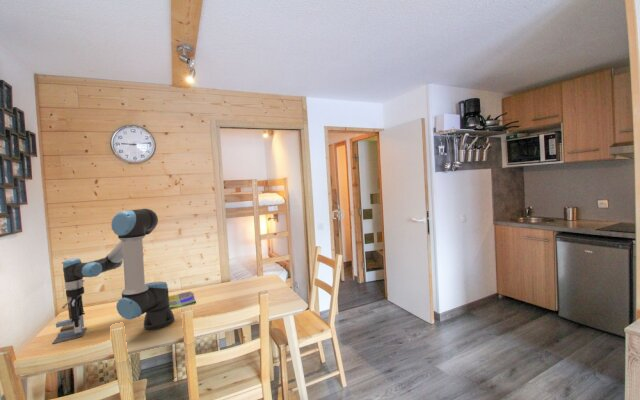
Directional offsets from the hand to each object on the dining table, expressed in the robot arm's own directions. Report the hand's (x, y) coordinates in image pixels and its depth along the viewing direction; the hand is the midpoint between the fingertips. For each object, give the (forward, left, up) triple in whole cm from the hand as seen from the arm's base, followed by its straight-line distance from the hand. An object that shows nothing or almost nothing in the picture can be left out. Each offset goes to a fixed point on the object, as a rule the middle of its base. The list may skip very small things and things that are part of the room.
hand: (79, 329), depth 160 cm
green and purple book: (+16, -50, -3) cm, 53 cm away
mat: (0, +4, -2) cm, 5 cm away
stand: (+14, +7, -2) cm, 16 cm away
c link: (0, +4, -2) cm, 4 cm away
